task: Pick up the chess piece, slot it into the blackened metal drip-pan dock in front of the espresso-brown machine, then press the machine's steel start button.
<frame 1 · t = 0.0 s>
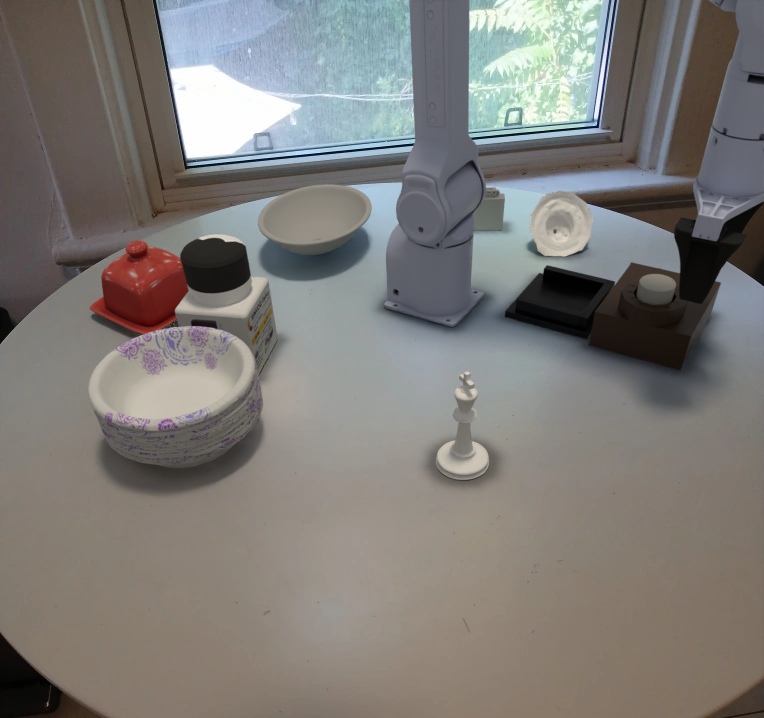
hand: (702, 281, 69), 10 cm above the table, tool pointing down, fingers open, 7 cm apart
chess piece: (462, 463, 68), on the table
brown push button box: (650, 330, 82), on the table
start button: (655, 290, 75), point 6 cm above the table, slide at 0.1 cm
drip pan: (561, 307, 86), on the table
paper bowls: (191, 437, 72), on the table
lighter: (476, 228, 101), on the table
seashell: (558, 247, 96), on the table
container: (235, 356, 81), on the table
butter dish: (156, 311, 89), on the table
dish: (319, 250, 98), on the table
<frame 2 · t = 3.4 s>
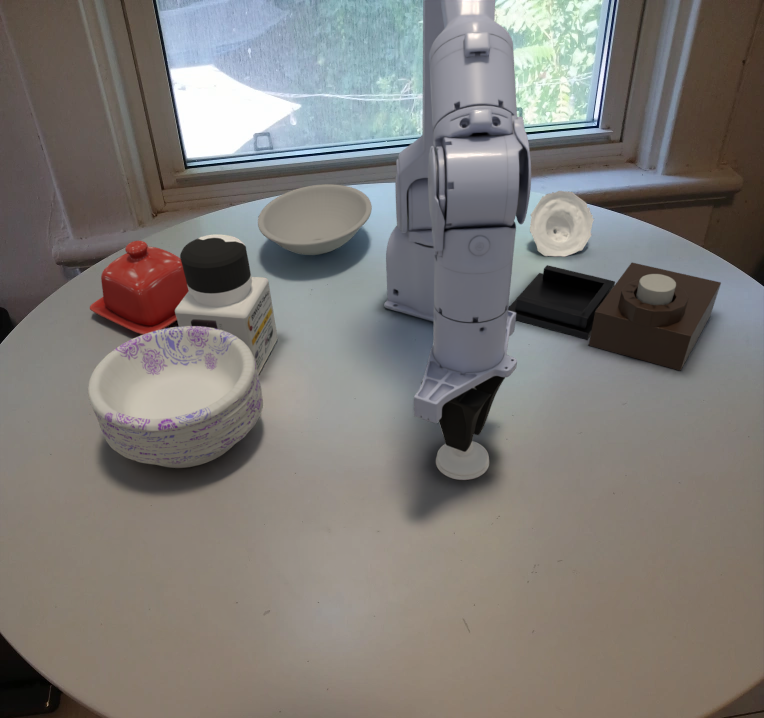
hand: (463, 438, 66), 3 cm above the table, tool pointing down, fingers closed on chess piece
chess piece: (462, 463, 68), on the table, touching gripper
everything else where it was.
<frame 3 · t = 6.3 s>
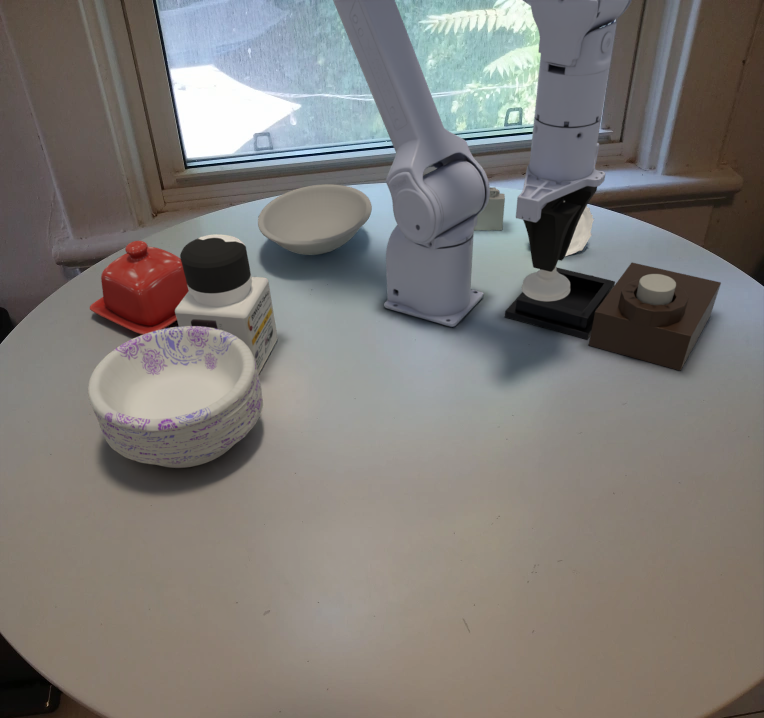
hand: (548, 262, 73), 10 cm above the table, tool pointing down, fingers closed on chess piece
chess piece: (545, 290, 75), point 7 cm above the table, touching gripper
everything else where it was.
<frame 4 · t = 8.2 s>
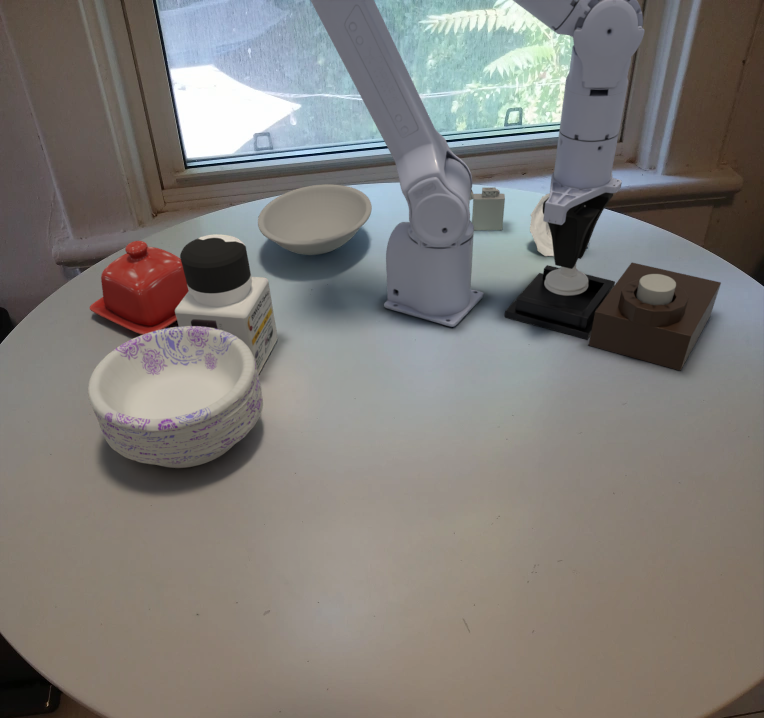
hand: (568, 260, 81), 6 cm above the table, tool pointing down, fingers closed on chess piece
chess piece: (565, 286, 84), point 3 cm above the table, touching gripper
everything else where it was.
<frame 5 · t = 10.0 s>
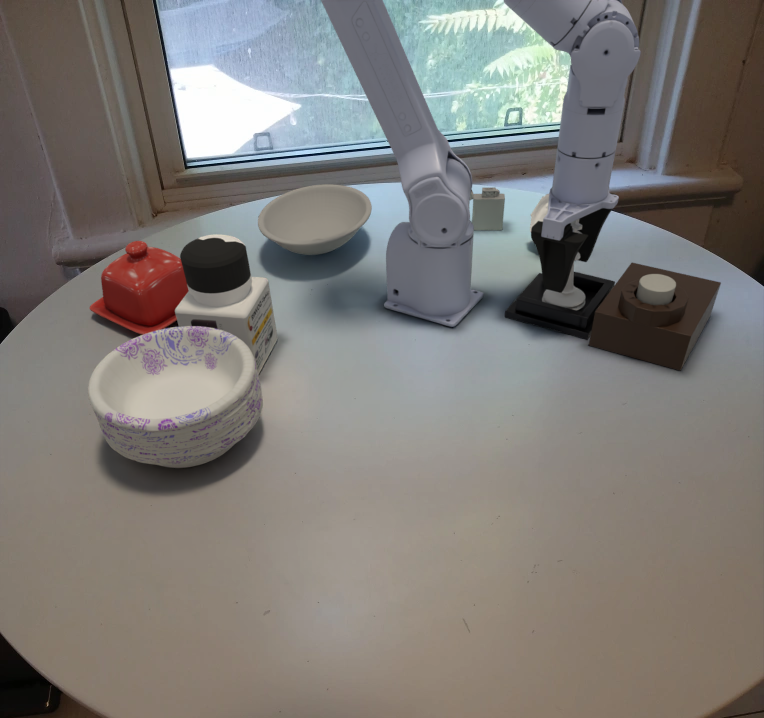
hand: (566, 274, 83), 4 cm above the table, tool pointing down, fingers open, 7 cm apart
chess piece: (563, 302, 85), point 1 cm above the table, touching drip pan
everything else where it was.
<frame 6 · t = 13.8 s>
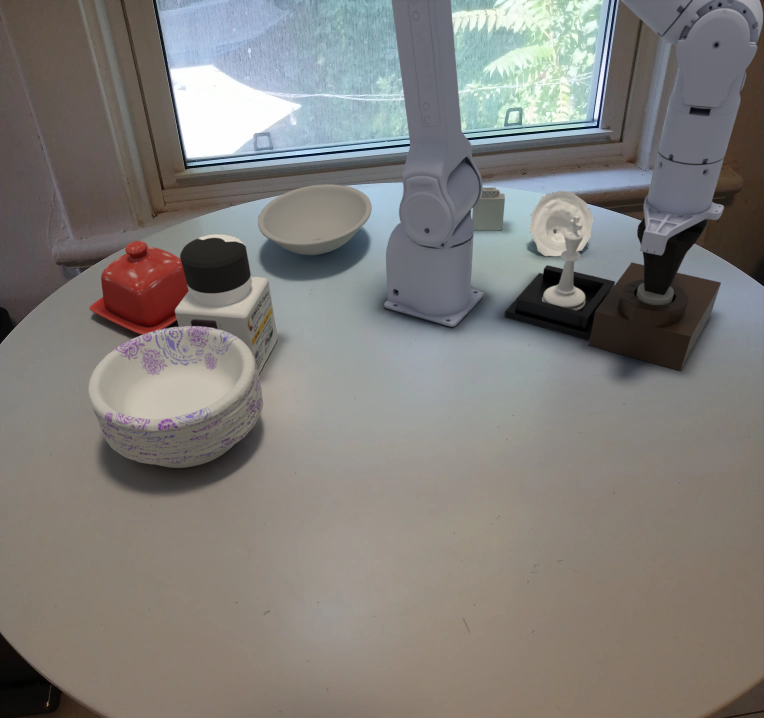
hand: (656, 290, 75), 6 cm above the table, tool pointing down, fingers closed, pressing on start button
start button: (654, 297, 76), point 6 cm above the table, slide at -0.8 cm, touching gripper
everything else where it was.
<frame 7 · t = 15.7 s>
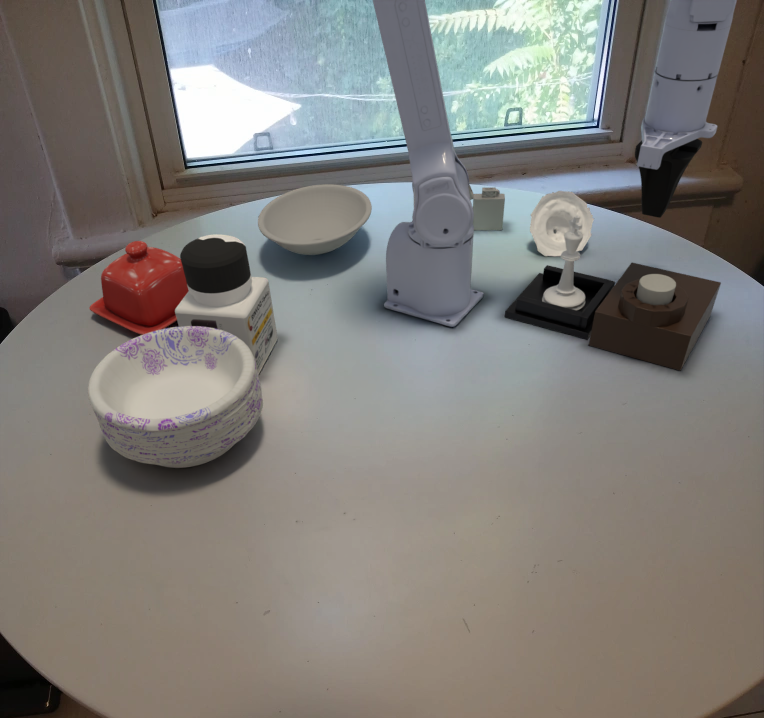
hand: (653, 213, 79), 10 cm above the table, tool pointing down, fingers closed
start button: (655, 290, 75), point 6 cm above the table, slide at 0.1 cm
everything else where it was.
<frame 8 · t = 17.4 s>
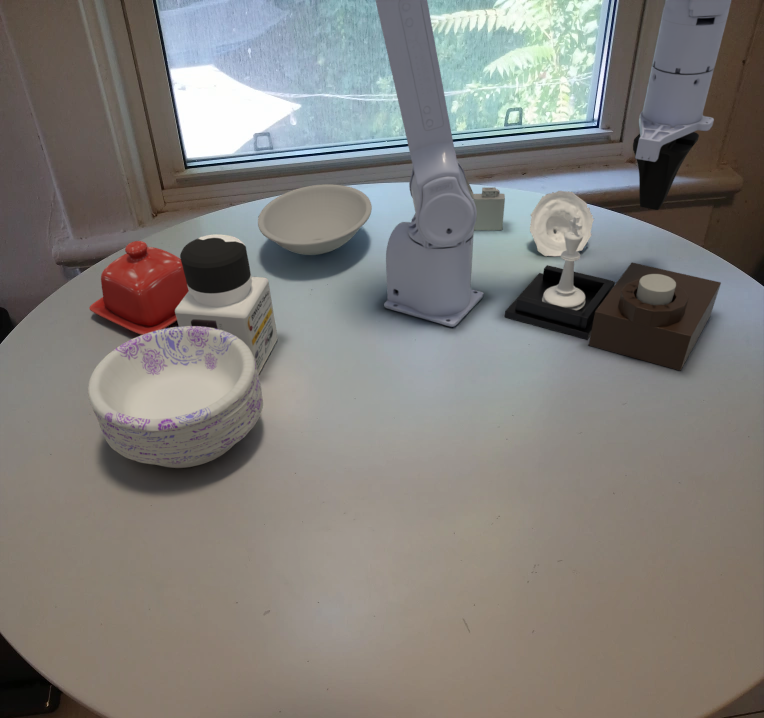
hand: (650, 206, 80), 10 cm above the table, tool pointing down, fingers closed
nothing on the table moved.
at the end: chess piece 0.1 cm off-centre on the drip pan, point 0.6 cm above the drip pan's base; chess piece tilted 0°; start button pushed in 1.2 cm at the most during the clip, back to where it started at the end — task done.
